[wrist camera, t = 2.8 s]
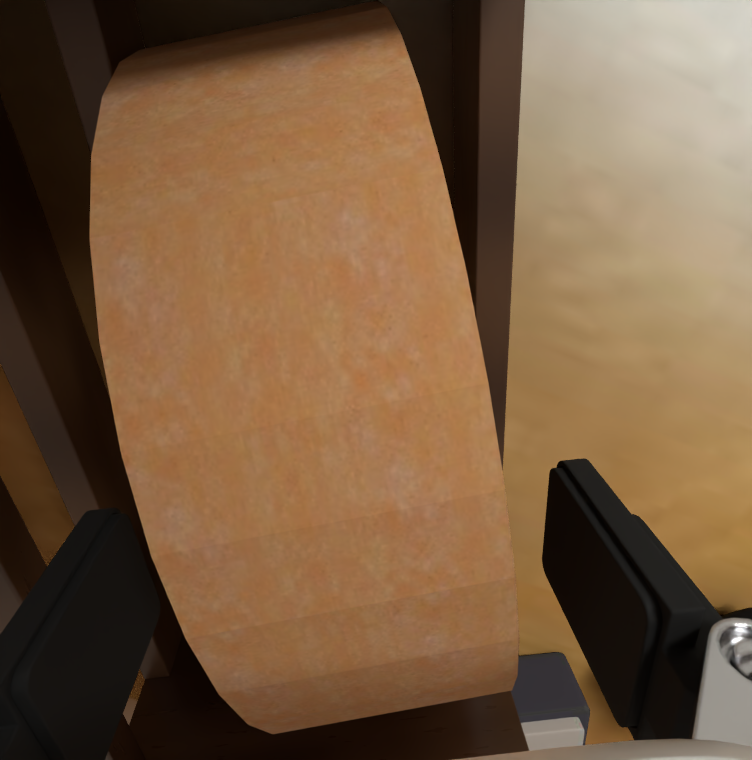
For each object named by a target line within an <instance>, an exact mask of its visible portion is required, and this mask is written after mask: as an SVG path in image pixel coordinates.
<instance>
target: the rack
mask: <svg viewBox="0 0 752 760" xmlns="http://www.w3.org/2000/svg"><path fill="white" fill-rule="evenodd" d="M44 1H45V5H46V8H47V11H48V14H49V18H50V21H51V24H52V28H53V31H54V34H55V38H56V41H57V44H58V47H59V51H60V54H61V57H62V61H63V64H64V67H65V70H66V74H67V77H68V80H69V84H70V87H71V90H72V94H73V97H74V100H75V103H76V107H77V110H78V113H79V117H80V120H81V123H82V126H83V130H84V133H85V136H86V140H87V143H88V146H89V149H90V153H91V154H92V148H93V143H94V138H95V132H96V127H97V122H98V116H99V111H100V106H101V100H102V96H103V94H104V92H105V90H106V88H107V86H108V84H109V82H110V80H111V78H112V76H113V74H114V72H115V70H116V68H117V66H118V64H119V62H121V61H122V60H124V59H126V58H127V57H129V56H130V55H132V54H133V53H135V52H137V51H138V50H141V49H145V45H144V41H143V37H142V32H141V28H140V24H139V20H138V16H137V11H136V7H135V3H134V0H44ZM524 9H525V0H453V127H454V219H455V223H456V228H457V232H458V236H459V240H460V245H461V249H462V253H463V258H464V262H465V266H466V270H467V276H468V281H469V286H470V291H471V296H472V301H473V306H474V311H475V317H476V322H477V327H478V332H479V337H480V342H481V347H482V352H483V357H484V363H485V368H486V373H487V378H488V383H489V389H490V396H491V402H492V408H493V415H494V421H495V427H496V433H497V440H498V446H499V452H500V459H501V465H502V471H503V452H504V431H505V410H506V389H507V368H508V346H509V325H510V304H511V283H512V262H513V241H514V220H515V199H516V178H517V156H518V135H519V114H520V93H521V72H522V51H523V30H524ZM0 363H1V365H2V368H3V370H4V372H5V374H6V376H7V379H8V381H9V383H10V385H11V387H12V389H13V392H14V394H15V396H16V398H17V400H18V403H19V405H20V407H21V409H22V411H23V414H24V416H25V418H26V420H27V422H28V424H29V427H30V429H31V431H32V433H33V435H34V438H35V440H36V442H37V444H38V446H39V449H40V451H41V453H42V455H43V457H44V460H45V462H46V464H47V466H48V468H49V470H50V473H51V475H52V477H53V479H54V481H55V484H56V486H57V488H58V490H59V492H60V495H61V497H62V499H63V501H64V503H65V506H66V508H67V510H68V512H69V514H70V516H71V519H72V521H73V523H74V525H75V526H76V525H77V523H78V522H79V520H80V519H81V517H82V516H83V515H84V514H85V512H87V511H89V510H96V509H106V508H118V509H119V510H120V511H121V513H122V514H123V513H125V514H127V515H128V516H129V518H130V520H131V523H132V526H133V529H134V531H135V534H136V537H137V539H138V542H139V545H140V547H141V550H142V553H143V556H144V558H145V561H146V564H147V566H148V569H149V572H150V575H151V577H152V580H153V583H154V585H155V588H156V591H157V594H158V596H159V599H160V605H161V610H160V616H159V619H158V622H157V625H156V627H155V630H154V633H153V635H152V638H151V640H150V643H149V646H148V648H147V651H146V654H145V656H144V659H143V661H142V664H141V667H140V670H141V672H142V674H143V676H144V679H145V682H144V684H143V687H142V690H141V693H140V696H139V699H138V702H137V704H136V707H135V710H134V713H133V716H132V719H131V722H130V725H128V724H127V721H126V719H125V717H124V715H123V714H122V717H121V719H120V722H119V724H118V727H117V730H116V732H115V735H114V738H113V740H112V743H111V745H110V748H109V751H108V753H107V756H106V759H105V760H454V759H463V758H471V757H480V756H489V755H497V754H506V753H515V752H523V751H529V748H528V745H527V741H526V738H525V735H524V732H523V729H522V725H521V722H520V719H519V716H518V713H517V709H516V706H515V703H514V700H513V697H512V693H511V691H506V692H500V693H495V694H490V695H484V696H479V697H473V698H468V699H462V700H457V701H451V702H446V703H441V704H435V705H430V706H424V707H419V708H413V709H408V710H403V711H397V712H392V713H386V714H381V715H375V716H370V717H364V718H359V719H354V720H348V721H343V722H337V723H332V724H326V725H321V726H315V727H310V728H305V729H299V730H294V731H288V732H283V733H277V734H271V733H268V732H265V731H263V730H260V729H258V728H255V727H253V726H250V725H248V724H247V723H246V722H245V721H244V720H243V719H242V718H241V717H240V716H239V715H238V714H237V713H236V712H235V711H234V710H233V709H232V708H231V707H230V706H229V704H228V703H227V702H226V701H225V700H224V699H223V698H222V697H221V696H220V695H219V694H218V692H217V691H216V689H215V687H214V686H213V684H212V682H211V681H210V679H209V677H208V676H207V674H206V672H205V671H204V669H203V667H202V666H201V664H200V662H199V661H198V659H197V657H196V656H195V654H194V652H193V651H192V649H191V647H190V646H189V644H188V642H187V641H186V639H185V636H184V634H183V632H182V629H181V627H180V624H179V622H178V620H177V617H176V615H175V612H174V610H173V608H172V605H171V603H170V600H169V598H168V596H167V593H166V591H165V588H164V586H163V584H162V581H161V579H160V576H159V574H158V572H157V569H156V567H155V564H154V562H153V560H152V557H151V554H150V551H149V547H148V544H147V540H146V537H145V534H144V530H143V527H142V523H141V520H140V517H139V513H138V510H137V506H136V503H135V500H134V496H133V493H132V489H131V486H130V483H129V479H128V476H127V472H126V469H125V466H124V462H123V459H122V455H121V451H120V446H119V441H118V435H117V430H116V425H115V420H114V415H113V410H112V405H111V400H110V398H109V395H108V392H107V389H106V387H105V384H104V381H103V378H102V375H101V373H100V370H99V367H98V364H97V362H96V359H95V356H94V353H93V351H92V348H91V345H90V342H89V339H88V337H87V334H86V331H85V328H84V326H83V323H82V320H81V317H80V314H79V312H78V309H77V306H76V303H75V301H74V298H73V295H72V292H71V290H70V287H69V284H68V281H67V278H66V276H65V273H64V270H63V267H62V265H61V262H60V259H59V256H58V253H57V251H56V248H55V245H54V242H53V240H52V237H51V234H50V231H49V229H48V226H47V223H46V220H45V217H44V215H43V212H42V209H41V206H40V204H39V201H38V198H37V195H36V192H35V190H34V187H33V184H32V181H31V179H30V176H29V173H28V170H27V168H26V165H25V162H24V159H23V156H22V154H21V151H20V148H19V145H18V143H17V140H16V137H15V134H14V131H13V129H12V126H11V123H10V120H9V118H8V115H7V112H6V109H5V106H4V104H3V101H2V98H1V95H0ZM46 568H47V566H46V564H45V562H44V560H43V558H42V556H41V554H40V552H39V550H38V548H37V546H36V544H35V542H34V540H33V539H32V537H31V535H30V533H29V531H28V529H27V527H26V525H25V523H24V521H23V519H22V517H21V515H20V513H19V511H18V509H17V507H16V505H15V504H14V502H13V500H12V498H11V496H10V494H9V492H8V490H7V488H6V486H5V484H4V482H3V480H2V478H1V476H0V634H1V633H2V631H3V630H4V628H5V627H6V626H7V624H8V623H9V621H10V620H11V618H12V617H13V615H14V614H15V613H16V611H17V610H18V608H19V607H20V605H21V604H22V602H23V601H24V600H25V598H26V597H27V595H28V594H29V592H30V591H31V589H32V588H33V587H34V585H35V584H36V582H37V581H38V579H39V578H40V576H41V575H42V574H43V572H44V571H45V569H46Z"/></svg>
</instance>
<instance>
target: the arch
mask: <svg viewBox="0 0 752 760" xmlns="http://www.w3.org/2000/svg"><path fill="white" fill-rule="evenodd" d="M90 249H91V260H92V270H93V280H94V291H95V301H96V312H97V322H98V332H99V343H100V348H101V353H102V358H103V364H104V369H105V374H106V379H107V384H108V389H109V394H110V400H111V405H112V410H113V415H114V420H115V425H116V430H117V435H118V441H119V446H120V451H121V455H122V459H123V462H124V466H125V469H126V472H127V476H128V479H129V483H130V486H131V489H132V493H133V496H134V500H135V503H136V506H137V510H138V513H139V517H140V520H141V523H142V527H143V530H144V534H145V537H146V540H147V544H148V547H149V551H150V554H151V557H152V560H153V562H154V564H155V567H156V569H157V572H158V574H159V576H160V579H161V581H162V584H163V586H164V588H165V591H166V593H167V596H168V598H169V600H170V603H171V605H172V608H173V610H174V612H175V615H176V617H177V620H178V622H179V624H180V627H181V629H182V632H183V634H184V636H185V639H186V641H187V642H188V644H189V646H190V647H191V649H192V651H193V652H194V654H195V656H196V657H197V659H198V661H199V662H200V664H201V666H202V667H203V669H204V671H205V672H206V674H207V676H208V677H209V679H210V681H211V682H212V684H213V686H214V687H215V689H216V691H217V692H218V694H219V695H220V696H221V697H222V698H223V699H224V700H225V701H226V702H227V703H228V704H229V706H230V707H231V708H232V709H233V710H234V711H235V712H236V713H237V714H238V715H239V716H240V717H241V718H242V719H243V720H244V721H245V722H246V723H247V724H248V725H250V726H253V727H255V728H258V729H260V730H263V731H265V732H268V733H271V734H277V733H283V732H288V731H294V730H299V729H305V728H310V727H315V726H321V725H326V724H332V723H337V722H343V721H348V720H354V719H359V718H364V717H370V716H375V715H381V714H386V713H392V712H397V711H403V710H408V709H413V708H419V707H424V706H430V705H435V704H441V703H446V702H451V701H457V700H462V699H468V698H473V697H479V696H484V695H490V694H495V693H500V692H506V691H511V690H512V689H513V687H514V684H515V681H516V678H517V676H518V656H519V625H518V608H517V591H516V575H515V567H514V558H513V550H512V541H511V533H510V524H509V516H508V507H507V499H506V490H505V484H504V477H503V471H502V465H501V459H500V452H499V446H498V440H497V433H496V427H495V421H494V415H493V408H492V402H491V396H490V389H489V383H488V378H487V373H486V368H485V363H484V357H483V352H482V347H481V342H480V337H479V332H478V327H477V322H476V317H475V311H474V306H473V301H472V296H471V291H470V286H469V281H468V276H467V270H466V266H465V262H464V258H463V253H462V249H461V245H460V240H459V236H458V232H457V228H456V223H455V219H454V215H453V210H452V206H451V202H450V198H449V193H448V189H447V185H446V180H445V176H444V172H443V168H442V164H441V160H440V157H439V153H438V150H437V146H436V143H435V139H434V135H433V132H432V128H431V125H430V121H429V118H428V114H427V110H426V107H425V103H424V100H423V96H422V93H421V89H420V86H419V83H418V80H417V77H416V75H415V72H414V69H413V66H412V63H411V60H410V58H409V55H408V52H407V49H406V46H405V44H404V41H403V38H402V35H401V33H400V31H399V29H398V27H397V25H396V23H395V21H394V19H393V17H392V15H391V14H390V12H389V10H388V8H387V6H385V5H384V4H382V3H381V2H379V1H378V0H376V1H371V2H366V3H362V4H357V5H352V6H347V7H342V8H338V9H333V10H328V11H323V12H318V13H314V14H309V15H304V16H299V17H294V18H290V19H285V20H280V21H275V22H270V23H266V24H261V25H256V26H251V27H246V28H242V29H237V30H232V31H227V32H222V33H218V34H213V35H208V36H203V37H198V38H193V39H189V40H184V41H179V42H174V43H169V44H165V45H160V46H155V47H150V48H145V49H141V50H138V51H137V52H135V53H133V54H132V55H130V56H129V57H127V58H126V59H124V60H122V61H121V62H119V64H118V66H117V68H116V70H115V72H114V74H113V76H112V78H111V80H110V82H109V84H108V86H107V88H106V90H105V92H104V94H103V96H102V100H101V106H100V111H99V116H98V122H97V127H96V132H95V138H94V143H93V148H92V154H91V192H90Z"/></svg>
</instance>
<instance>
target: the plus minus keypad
mask: <svg viewBox="0 0 752 760" xmlns="http://www.w3.org/2000/svg"><path fill="white" fill-rule="evenodd" d="M511 693H512V697H513V700H514V703H515V706H516V709H517V713H518V716H519V719H520V722H521V725H522V729H523V732H524V735H525V738H526V741H527V745H528V748H529V751H532V750H541V749H550V748H560V747H571V746H581V745H585V740H586V734H587V728H588V722H589V716H590V709H589V707H588V705H587V703H586V700H585V698H584V696H583V694H582V691H581V689H580V687H579V685H578V683H577V680H576V678H575V676H574V674H573V672H572V670H571V667H570V665H569V663H568V661H567V659H566V657H565V655H564V654H562V653H559V652H554V653H545V654H535V655H526V656H518V676H517V678H516V681H515V684H514V687H513V689H512V690H511Z"/></svg>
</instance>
